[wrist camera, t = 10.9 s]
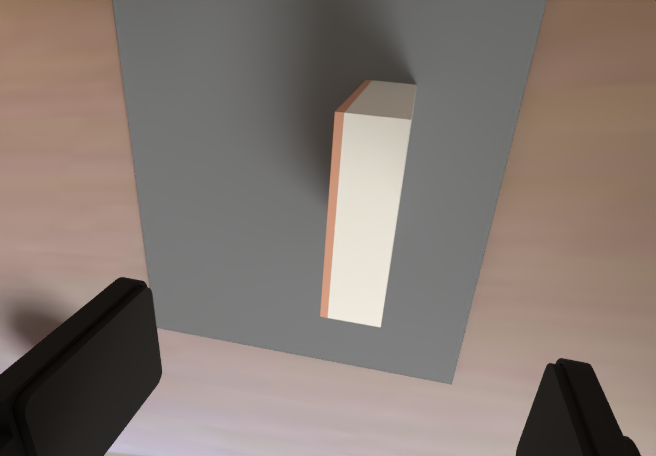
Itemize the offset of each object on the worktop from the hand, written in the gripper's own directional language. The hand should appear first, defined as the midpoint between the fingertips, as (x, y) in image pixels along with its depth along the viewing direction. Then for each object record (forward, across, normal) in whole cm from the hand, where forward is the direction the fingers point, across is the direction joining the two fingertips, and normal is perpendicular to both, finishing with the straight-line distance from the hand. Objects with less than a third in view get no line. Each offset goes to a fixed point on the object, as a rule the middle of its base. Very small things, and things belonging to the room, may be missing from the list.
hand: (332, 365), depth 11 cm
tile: (+14, 0, -1) cm, 14 cm away
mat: (+15, +4, 0) cm, 15 cm away
